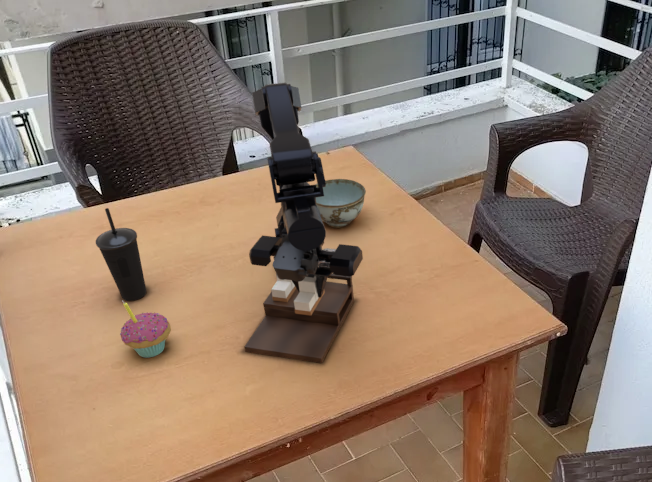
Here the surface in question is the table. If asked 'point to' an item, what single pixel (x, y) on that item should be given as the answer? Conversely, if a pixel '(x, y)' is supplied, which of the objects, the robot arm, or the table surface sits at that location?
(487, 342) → the table surface
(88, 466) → the table surface
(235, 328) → the table surface
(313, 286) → the white stacked box shape
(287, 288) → the white l-shaped block
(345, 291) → the shoe rack
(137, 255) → the drinking cup
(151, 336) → the cupcake
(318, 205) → the bowl
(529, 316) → the table surface
